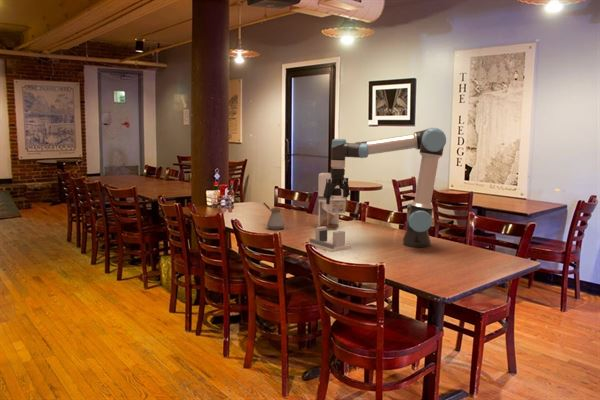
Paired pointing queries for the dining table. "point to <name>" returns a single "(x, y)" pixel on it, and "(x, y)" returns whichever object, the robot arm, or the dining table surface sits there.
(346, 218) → the dining table surface
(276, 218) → the coffee pot
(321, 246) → the rail board
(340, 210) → the container
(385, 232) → the dining table surface
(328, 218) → the grey dispenser tower
